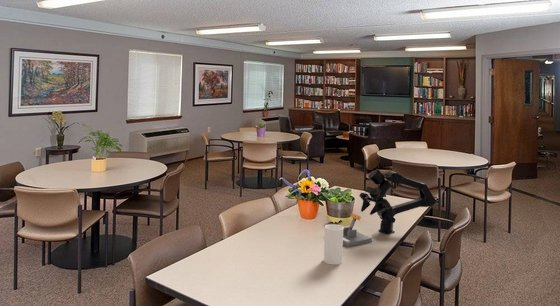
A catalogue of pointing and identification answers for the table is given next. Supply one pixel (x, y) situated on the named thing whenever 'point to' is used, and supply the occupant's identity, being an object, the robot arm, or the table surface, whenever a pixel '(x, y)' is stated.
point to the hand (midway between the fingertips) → (365, 212)
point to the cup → (333, 244)
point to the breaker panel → (354, 237)
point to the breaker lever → (353, 221)
